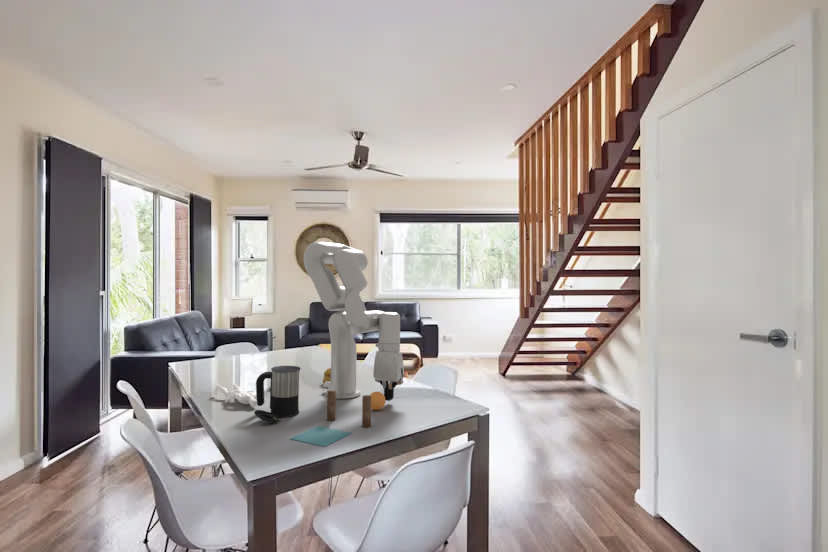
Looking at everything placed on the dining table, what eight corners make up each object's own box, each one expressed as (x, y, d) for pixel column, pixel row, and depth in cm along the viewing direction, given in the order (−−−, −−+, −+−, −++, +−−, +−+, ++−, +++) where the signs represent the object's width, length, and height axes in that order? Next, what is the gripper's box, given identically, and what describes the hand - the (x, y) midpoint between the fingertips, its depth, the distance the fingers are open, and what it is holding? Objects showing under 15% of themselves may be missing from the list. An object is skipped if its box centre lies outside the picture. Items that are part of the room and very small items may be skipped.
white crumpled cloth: (209, 400, 168) (239, 417, 150) (208, 385, 167) (237, 400, 149) (240, 391, 176) (272, 406, 158) (239, 376, 175) (270, 390, 158)
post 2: (360, 427, 137) (360, 396, 137) (365, 424, 139) (365, 394, 139) (367, 428, 136) (368, 398, 136) (372, 426, 138) (372, 396, 138)
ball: (364, 410, 153) (364, 392, 153) (373, 406, 159) (373, 388, 159) (379, 413, 151) (379, 395, 151) (388, 408, 156) (388, 391, 156)
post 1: (325, 420, 143) (325, 391, 143) (330, 417, 145) (330, 389, 145) (332, 421, 142) (332, 392, 142) (337, 419, 144) (337, 390, 144)
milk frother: (298, 408, 155) (298, 364, 155) (303, 422, 141) (304, 374, 141) (253, 412, 151) (254, 366, 151) (254, 427, 136) (254, 377, 136)
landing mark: (289, 438, 126) (289, 438, 126) (318, 426, 137) (318, 425, 137) (324, 446, 121) (324, 446, 121) (351, 433, 132) (351, 432, 132)
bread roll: (328, 388, 183) (329, 368, 183) (315, 384, 190) (315, 364, 190) (354, 383, 192) (355, 364, 192) (341, 379, 199) (341, 360, 199)
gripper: (365, 347, 161) (364, 399, 161) (403, 350, 155) (402, 405, 155) (376, 344, 168) (375, 394, 168) (413, 347, 162) (412, 399, 162)
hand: (388, 399), depth 162 cm, fingers closed
